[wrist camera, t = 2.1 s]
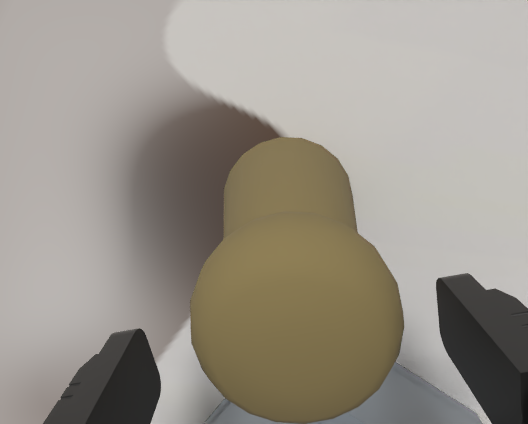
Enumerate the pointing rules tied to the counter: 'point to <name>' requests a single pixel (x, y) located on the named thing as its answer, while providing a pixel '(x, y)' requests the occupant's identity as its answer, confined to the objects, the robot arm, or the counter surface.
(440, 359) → the counter surface
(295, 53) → the counter surface
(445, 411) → the crate
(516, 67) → the counter surface
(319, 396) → the cork
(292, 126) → the counter surface
